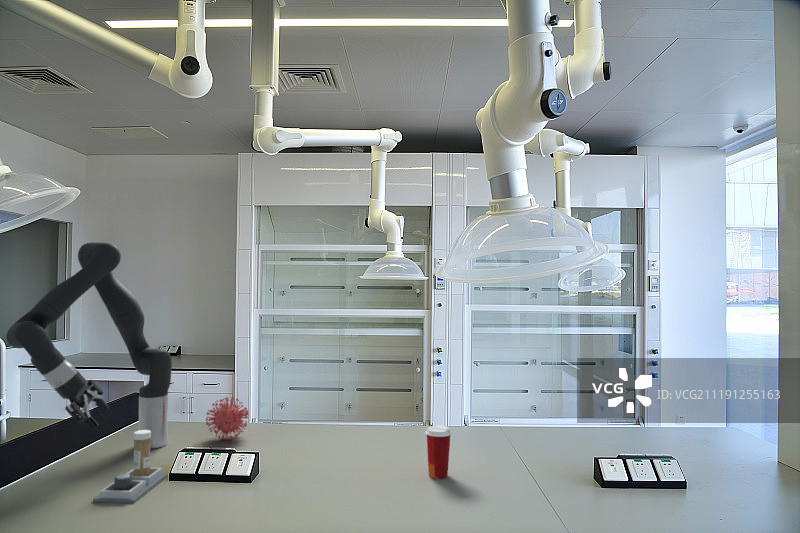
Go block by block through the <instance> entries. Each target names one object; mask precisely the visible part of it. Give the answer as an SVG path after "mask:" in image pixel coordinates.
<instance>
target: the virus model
mask: <svg viewBox="0 0 800 533" xmlns="http://www.w3.org/2000/svg"><path fill="white" fill-rule="evenodd" d="M234 399H235V397H230V399H229V397H227V396H226V397H224V398H222V399H218V400H216V401H214V402H213V403H212V405H211V406H212V409H210V410H209V408H208V410H207V411H208V412H206V415H207V416H206V418H205V421H206V422H205V425H206V426H207V427H209V428H208V431H209V432H210V433H212V431H213V432H214V433H215V435H214V436H215V437H216V438H217V439H220V440H228V439H227V438H228V436H229V440H232V439H233V435H231V434H232V433H234V436H235V437H236V438H237V437H238V436H239V435H241V433H244V430H246V428H247V426H248V424H247V423H248V421H247V420H246V421H245V420H243V419H249V416H250V415H249V410H248V408H247V406H245V407H244V404H243V402H242V401H240V400H239V399H238V398H236V399H235V402H234ZM229 401H230V404H229ZM219 402H220V403H219ZM233 402H234V403H233ZM238 402H239V403H238ZM237 404H238V405H237ZM243 407H244V408H243ZM241 408H243V409H241ZM212 425H213V426H212ZM210 426H212V427H210ZM243 429H244V430H243ZM219 432H220V434H219V436H218V433H219ZM225 438H226V439H225Z"/></svg>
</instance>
